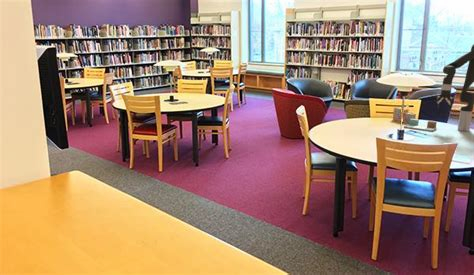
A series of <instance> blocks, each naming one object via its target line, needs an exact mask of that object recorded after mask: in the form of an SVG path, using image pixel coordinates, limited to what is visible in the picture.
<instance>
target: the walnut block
mask: <svg viewBox="0 0 474 275" xmlns="http://www.w3.org/2000/svg"><path fill="white" fill-rule="evenodd" d="M426 124H427V125H426V127H431V128H436V129H437V121H435V120H428V121H427V123H426Z"/></svg>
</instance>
